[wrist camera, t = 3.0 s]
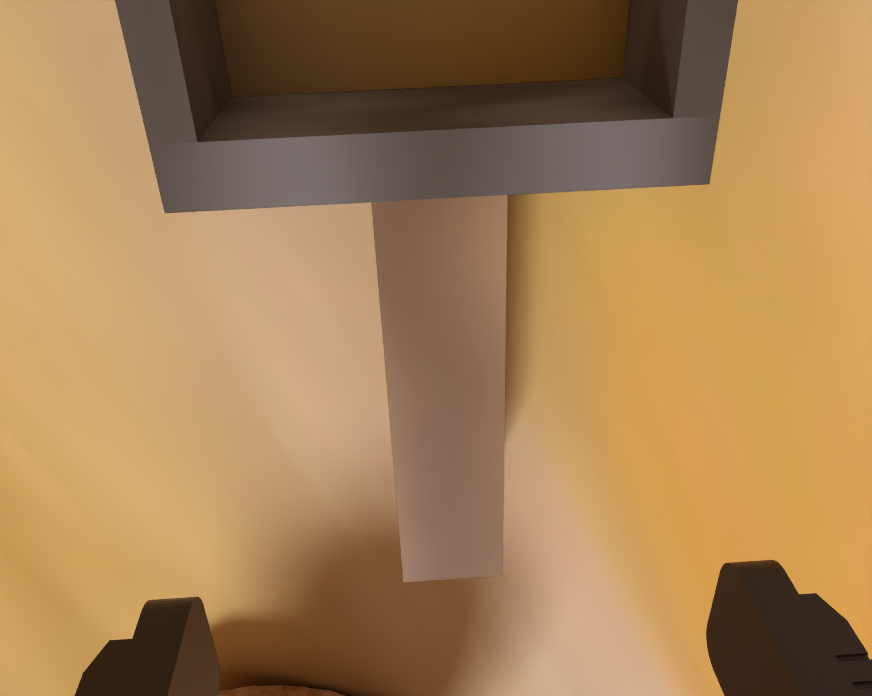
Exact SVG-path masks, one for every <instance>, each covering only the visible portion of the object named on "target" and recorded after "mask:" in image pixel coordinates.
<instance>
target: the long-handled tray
mask: <svg viewBox="0 0 872 696" xmlns="http://www.w3.org/2000/svg"><path fill="white" fill-rule="evenodd" d="M115 2H116V6H117V10H118V15H119V19H120V23H121V28H122V32H123V36H124V40H125V45H126V49H127V53H128V58H129V62H130V66H131V70H132V75H133V79H134V83H135V88H136V92H137V96H138V100H139V105H140V109H141V113H142V118H143V122H144V126H145V130H146V135H147V139H148V143H149V148H150V152H151V156H152V160H153V165H154V169H155V173H156V178H157V182H158V186H159V190H160V195H161V199H162V203H163V208H164V212H165V213H177V212H196V211H215V210H234V209H253V208H271V207H290V206H309V205H328V204H347V203H365V202H372V214H373V226H374V238H375V250H376V262H377V274H378V286H379V298H380V310H381V322H382V334H383V345H384V357H385V369H386V381H387V393H388V405H389V417H390V429H391V441H392V453H393V465H394V477H395V489H396V501H397V513H398V524H399V536H400V548H401V560H402V572H403V582H416V581H431V580H446V579H461V578H476V577H491V576H502V575H503V501H504V426H505V351H506V277H507V202H508V195H516V194H534V193H553V192H572V191H591V190H610V189H628V188H647V187H666V186H685V185H704V184H709V183H710V176H711V170H712V164H713V157H714V151H715V144H716V138H717V131H718V125H719V119H720V112H721V106H722V99H723V93H724V86H725V80H726V74H727V67H728V61H729V54H730V48H731V41H732V35H733V29H734V22H735V16H736V9H737V3H738V0H630V7H629V18H628V30H627V41H626V52H625V63H624V75H623V78H616V79H596V80H575V81H555V82H535V83H514V84H494V85H474V86H453V87H433V88H413V89H392V90H372V91H352V92H332V93H311V94H291V95H271V96H250V97H231V92H230V86H229V80H228V75H227V69H226V63H225V57H224V51H223V45H222V40H221V34H220V28H219V22H218V16H217V10H216V5H215V0H115Z"/></svg>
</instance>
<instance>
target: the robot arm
mask: <svg viewBox="0 0 872 696" xmlns="http://www.w3.org/2000/svg"><path fill="white" fill-rule="evenodd" d="M706 638H707V648H708V653H709V657H710V661H711V664H712V667H713V670H714V672H715V674H716V677H717V679H718V681H719V684H720V686H721V688H722V691H723V693H724V696H872V659H871V660H870V659H869V658H868V652H867V651H866V649H865V648H864V646H863V645H862V643H861V641H860V640H859V638H858V637H857V635H856V634H855V632H854V631H853V629H852V627H851V626H850V624H849V623H848V621H847V620H846V619H845V618H844V617H843V616H841V615H840V614H839V613H838V612H837V611H836V610H834V609H833V608H832V607H831V606H830V605H829V604H828V603H826V602H825V601H824V600H823V599H822V598H821V597H820V596H818V595H817V594H816V593H814V594H798V592H797V590H796V589H795V587H794V585H793V584H792V582H791V580H790V578H789V577H788V575H787V573H786V572H785V570H784V569H783V567H782V566H781V565H780V564H779V563H778V562H777V561H774V560H763V561H749V562H734V563H725V564H724V565H723V566H722V568H721V570H720V574H719V578H718V582H717V586H716V591H715V595H714V599H713V603H712V607H711V611H710V615H709V619H708V624H707V631H706ZM219 687H220V670H219V661H218V657H217V653H216V649H215V646H214V642H213V638H212V635H211V631H210V627H209V624H208V620H207V616H206V613H205V609H204V605H203V602H202V600H201V599H200V598H199V597H188V598H174V599H159V600H149V601H147V602H146V604H145V605H144V607H143V609H142V611H141V614H140V617H139V620H138V623H137V626H136V629H135V633H134V636H133V639H124V640H110V641H109V642H108V643H107V644H106V645H105V647H104V648H103V649H102V650H101V652H100V653H99V654H98V655H97V657H96V658H95V659H94V660H93V661H92V663H91V664H90V665H89V666H88V668H87V669H86V670H85V671H84V673H83V675H82V678H81V680H80V683H79V686H78V688H77V691H76V694H75V696H219Z"/></svg>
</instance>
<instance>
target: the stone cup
mask: <svg viewBox="0 0 872 696" xmlns="http://www.w3.org/2000/svg"><path fill="white" fill-rule="evenodd" d="M219 696H346V695H342V694H339V693H336V692H334V691H331V690H324V689H313V688H309V687H304V686H295V687H293V686H286V685H265V686H255V685H252V686H247V687H242V688H236V689H229V690H221V691H219Z"/></svg>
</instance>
